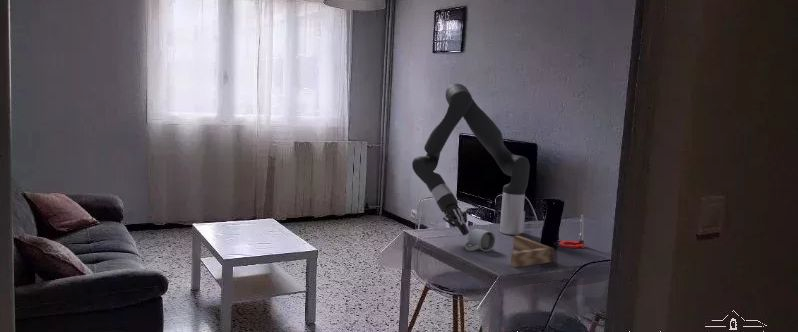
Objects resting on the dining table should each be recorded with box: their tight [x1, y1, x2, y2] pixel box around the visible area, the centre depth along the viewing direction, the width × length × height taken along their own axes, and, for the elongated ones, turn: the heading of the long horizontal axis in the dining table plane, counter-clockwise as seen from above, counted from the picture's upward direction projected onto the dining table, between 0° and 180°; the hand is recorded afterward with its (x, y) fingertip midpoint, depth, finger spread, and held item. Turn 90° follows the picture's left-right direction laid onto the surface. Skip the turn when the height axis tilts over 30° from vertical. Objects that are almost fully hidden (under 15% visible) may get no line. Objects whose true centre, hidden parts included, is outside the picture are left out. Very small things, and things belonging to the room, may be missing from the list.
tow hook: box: [559, 214, 586, 249], centre depth 242 cm, size 8×13×9 cm
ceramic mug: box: [464, 228, 496, 252], centre depth 228 cm, size 11×8×8 cm
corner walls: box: [510, 235, 555, 268], centre depth 221 cm, size 18×19×5 cm
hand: (466, 234), depth 234 cm, fingers closed
